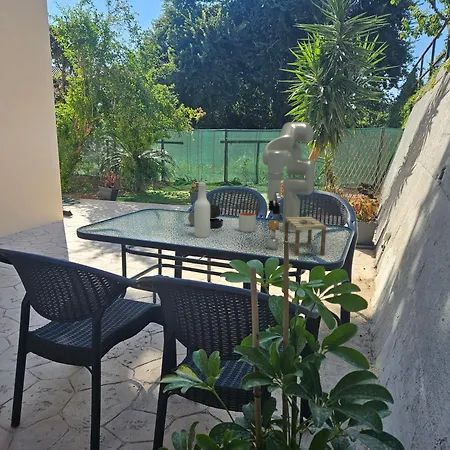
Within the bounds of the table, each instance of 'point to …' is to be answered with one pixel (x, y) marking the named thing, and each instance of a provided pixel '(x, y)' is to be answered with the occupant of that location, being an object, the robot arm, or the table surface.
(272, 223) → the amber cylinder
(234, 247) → the table surface
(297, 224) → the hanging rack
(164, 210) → the table surface
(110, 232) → the table surface
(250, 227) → the cup
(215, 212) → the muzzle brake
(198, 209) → the alcohol
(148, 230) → the table surface
